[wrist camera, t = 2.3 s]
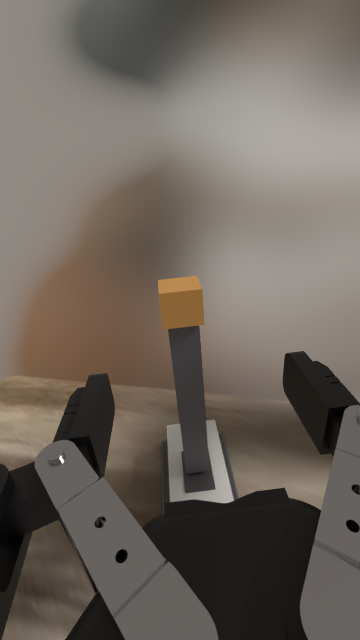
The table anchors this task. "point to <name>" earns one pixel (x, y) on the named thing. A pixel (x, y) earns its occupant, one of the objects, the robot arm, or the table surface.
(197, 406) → the lever
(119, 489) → the table surface
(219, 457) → the breaker base
